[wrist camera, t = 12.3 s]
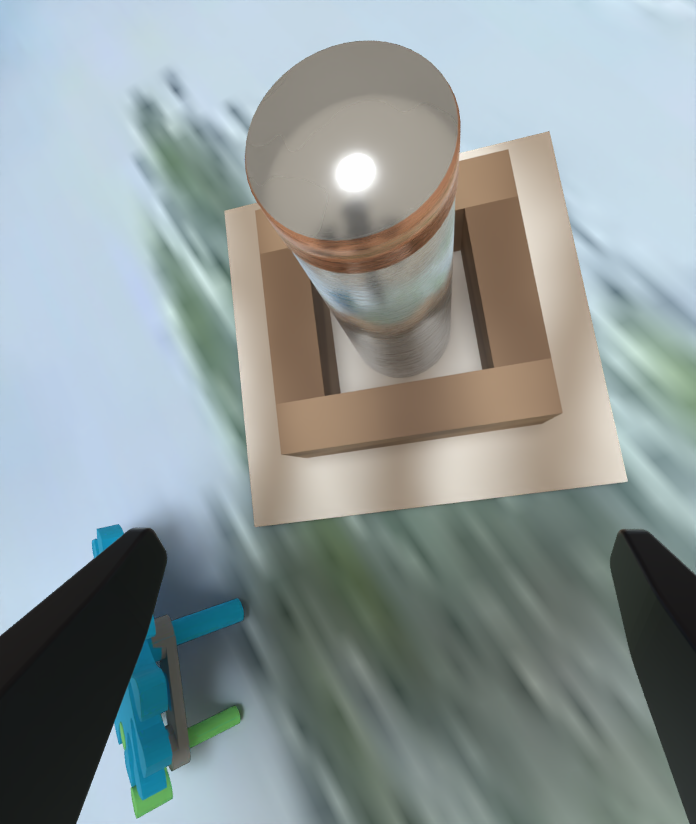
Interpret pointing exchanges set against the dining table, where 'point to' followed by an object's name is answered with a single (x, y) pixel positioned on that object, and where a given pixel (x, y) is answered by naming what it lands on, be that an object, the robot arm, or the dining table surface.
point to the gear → (163, 699)
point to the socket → (443, 382)
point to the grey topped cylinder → (366, 193)
